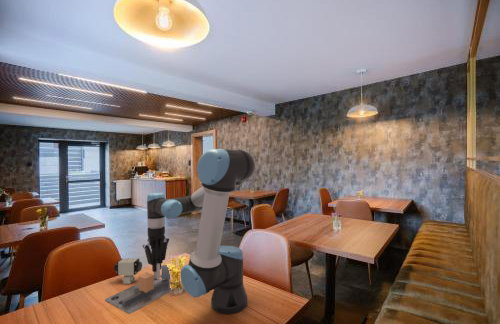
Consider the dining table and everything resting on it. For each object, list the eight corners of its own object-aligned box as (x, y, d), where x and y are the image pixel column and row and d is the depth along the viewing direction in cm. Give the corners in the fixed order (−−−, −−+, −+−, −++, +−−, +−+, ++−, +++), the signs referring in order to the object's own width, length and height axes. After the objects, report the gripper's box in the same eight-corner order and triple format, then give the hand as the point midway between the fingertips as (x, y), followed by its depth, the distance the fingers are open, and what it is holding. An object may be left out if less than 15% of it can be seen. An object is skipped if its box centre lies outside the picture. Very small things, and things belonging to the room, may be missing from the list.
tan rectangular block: (153, 292, 109) (153, 275, 109) (145, 297, 106) (145, 278, 106) (145, 289, 113) (144, 271, 113) (137, 293, 109) (136, 275, 109)
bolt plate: (177, 287, 116) (177, 285, 116) (129, 314, 96) (129, 312, 96) (153, 278, 126) (153, 276, 126) (105, 300, 106) (105, 298, 106)
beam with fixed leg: (172, 284, 118) (171, 266, 118) (126, 308, 99) (126, 287, 99) (163, 280, 121) (163, 264, 121) (118, 303, 102) (117, 283, 102)
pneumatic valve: (138, 284, 119) (137, 260, 119) (114, 284, 119) (113, 260, 119) (143, 279, 125) (142, 255, 125) (120, 279, 125) (120, 255, 125)
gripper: (162, 222, 121) (163, 270, 121) (138, 228, 110) (139, 281, 110) (173, 224, 117) (173, 274, 117) (148, 231, 106) (149, 285, 106)
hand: (156, 277), depth 114 cm, fingers closed
